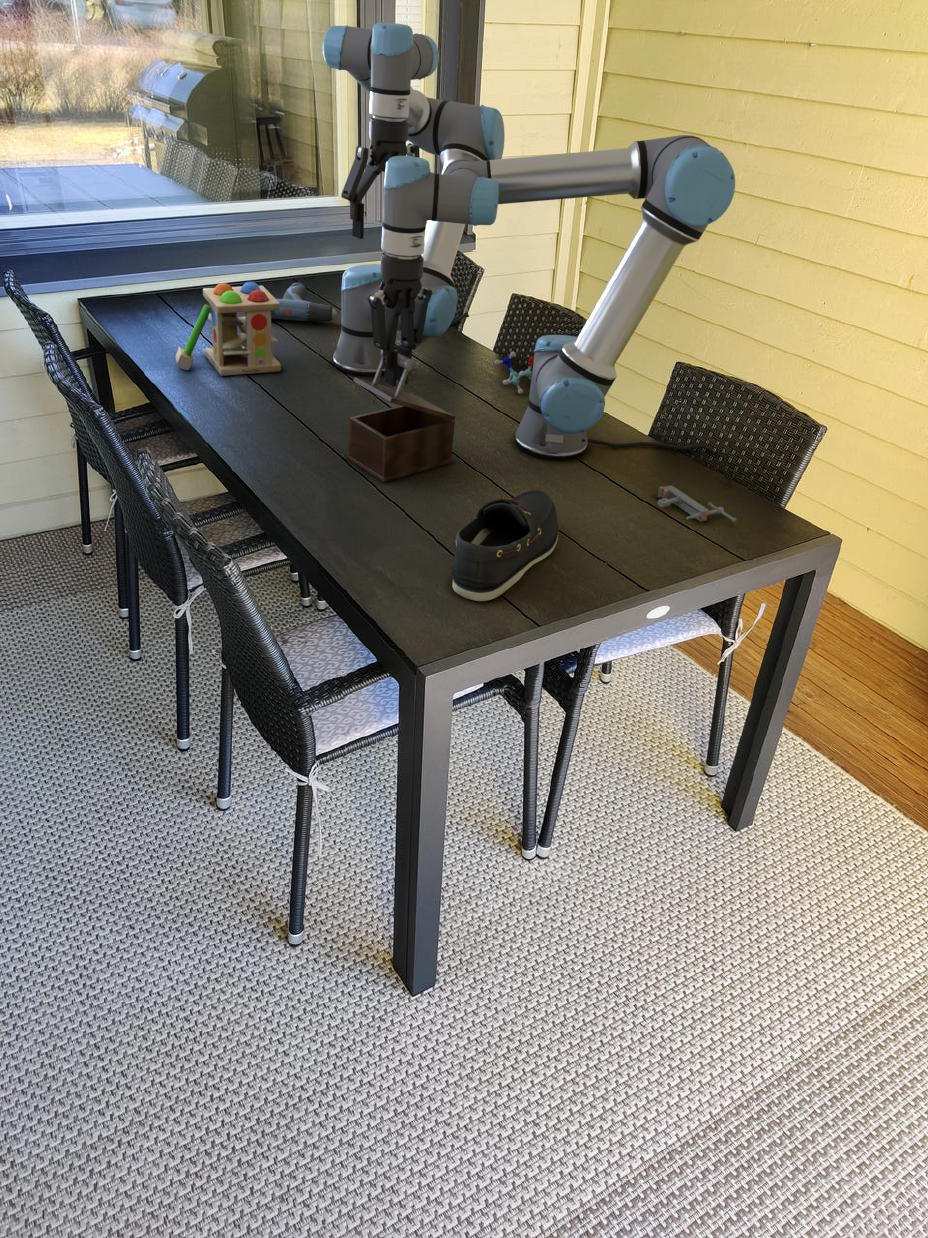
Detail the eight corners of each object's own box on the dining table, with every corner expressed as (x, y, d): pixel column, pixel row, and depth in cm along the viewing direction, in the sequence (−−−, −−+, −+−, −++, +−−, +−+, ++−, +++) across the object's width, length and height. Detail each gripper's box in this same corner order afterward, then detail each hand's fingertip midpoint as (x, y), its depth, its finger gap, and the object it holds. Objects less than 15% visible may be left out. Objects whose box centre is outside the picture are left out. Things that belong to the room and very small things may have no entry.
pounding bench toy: (183, 379, 220) (176, 299, 210) (169, 357, 231) (162, 280, 221) (282, 371, 230) (280, 294, 220) (264, 350, 240) (262, 276, 230)
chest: (384, 482, 187) (385, 439, 182) (348, 459, 194) (349, 417, 189) (451, 462, 197) (454, 421, 192) (415, 441, 204) (417, 401, 199)
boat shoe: (583, 534, 177) (590, 481, 172) (488, 608, 153) (493, 549, 148) (521, 514, 183) (526, 462, 178) (421, 583, 159) (423, 525, 154)
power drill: (344, 304, 276) (335, 327, 259) (277, 298, 275) (264, 321, 258) (344, 285, 273) (335, 306, 256) (277, 279, 272) (264, 300, 255)
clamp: (647, 488, 189) (686, 480, 193) (645, 499, 190) (684, 490, 195) (698, 524, 178) (739, 515, 183) (696, 535, 180) (736, 525, 184)
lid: (390, 402, 179) (406, 358, 176) (353, 381, 185) (368, 339, 183) (454, 420, 192) (470, 380, 189) (417, 400, 199) (432, 361, 196)
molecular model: (539, 386, 226) (526, 343, 224) (502, 400, 229) (488, 358, 228) (551, 385, 236) (539, 344, 235) (515, 398, 240) (503, 358, 238)
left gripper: (347, 122, 177) (345, 244, 189) (451, 119, 192) (443, 232, 204) (323, 115, 182) (323, 235, 194) (427, 113, 196) (421, 224, 208)
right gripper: (380, 263, 165) (375, 396, 178) (449, 254, 174) (439, 382, 187) (354, 252, 170) (351, 382, 183) (422, 244, 178) (414, 369, 192)
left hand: (385, 234), depth 199 cm, fingers open, 13 cm apart
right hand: (395, 382), depth 185 cm, fingers closed on lid, 2 cm apart
